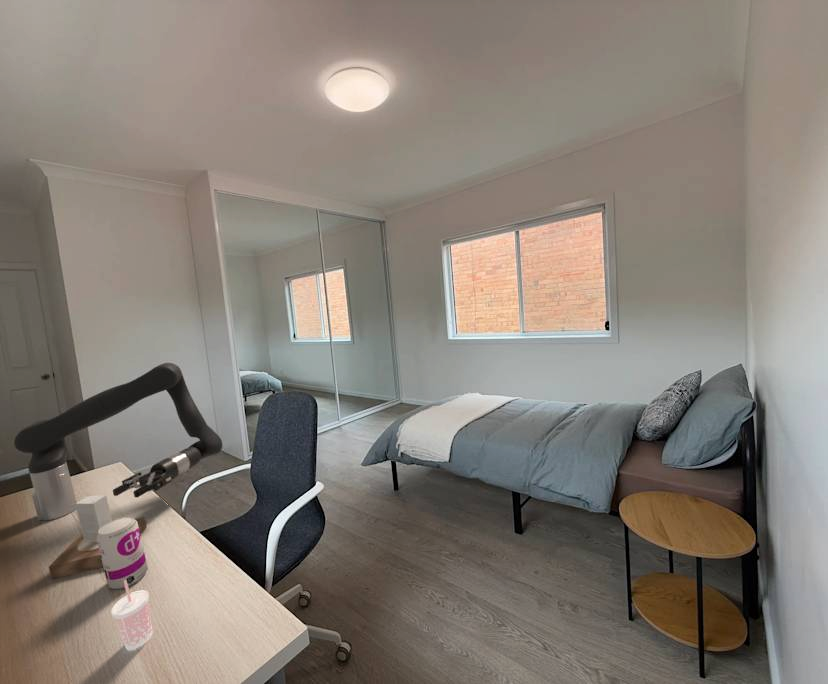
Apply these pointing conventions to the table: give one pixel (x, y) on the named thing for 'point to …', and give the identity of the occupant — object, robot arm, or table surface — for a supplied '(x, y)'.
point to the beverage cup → (133, 618)
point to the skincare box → (93, 516)
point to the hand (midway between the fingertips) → (124, 493)
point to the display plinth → (82, 556)
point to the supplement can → (122, 552)
